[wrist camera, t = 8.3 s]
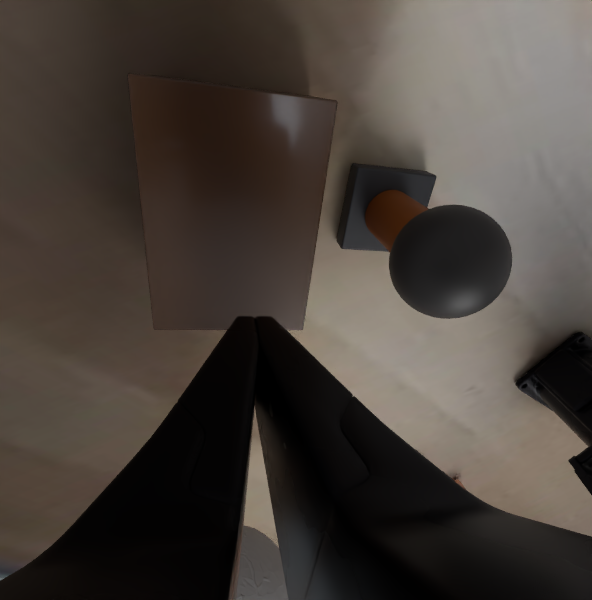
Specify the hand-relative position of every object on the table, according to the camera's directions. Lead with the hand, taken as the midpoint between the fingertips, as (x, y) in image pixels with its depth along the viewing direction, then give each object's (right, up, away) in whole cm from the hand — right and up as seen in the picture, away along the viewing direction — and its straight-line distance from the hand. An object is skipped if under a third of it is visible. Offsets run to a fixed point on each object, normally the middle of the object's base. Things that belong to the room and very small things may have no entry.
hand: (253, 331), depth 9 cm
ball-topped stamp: (+3, +6, +11) cm, 13 cm away
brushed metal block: (-2, +6, +10) cm, 12 cm away
